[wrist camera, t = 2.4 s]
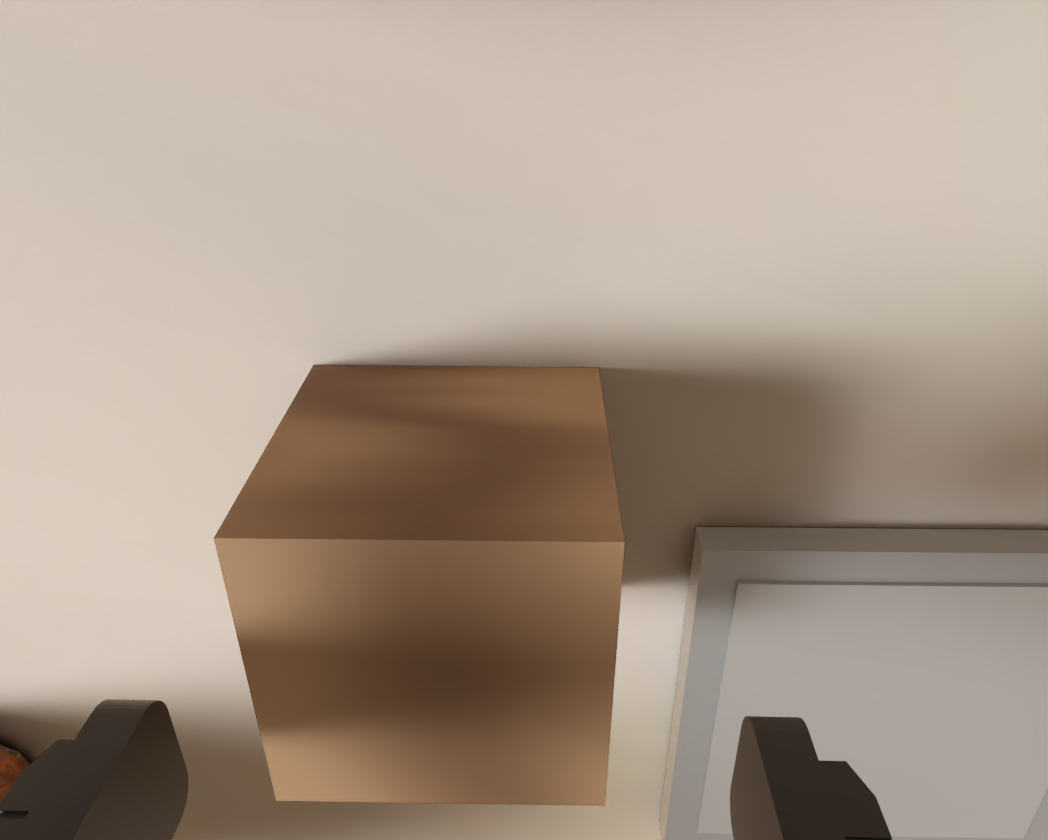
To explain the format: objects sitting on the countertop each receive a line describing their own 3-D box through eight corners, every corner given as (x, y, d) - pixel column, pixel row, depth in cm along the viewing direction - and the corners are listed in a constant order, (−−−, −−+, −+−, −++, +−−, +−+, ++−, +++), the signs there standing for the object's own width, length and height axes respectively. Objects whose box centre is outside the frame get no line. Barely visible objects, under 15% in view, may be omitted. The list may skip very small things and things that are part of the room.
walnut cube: (345, 582, 18) (275, 801, 13) (314, 363, 16) (213, 537, 11) (587, 585, 18) (604, 806, 13) (598, 365, 15) (624, 542, 11)
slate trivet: (659, 819, 22) (663, 851, 21) (695, 526, 17) (703, 553, 16) (1026, 825, 22) (1044, 857, 21) (1170, 531, 17) (1200, 558, 16)
